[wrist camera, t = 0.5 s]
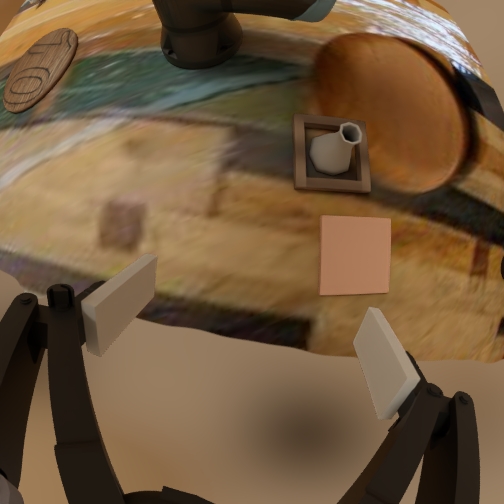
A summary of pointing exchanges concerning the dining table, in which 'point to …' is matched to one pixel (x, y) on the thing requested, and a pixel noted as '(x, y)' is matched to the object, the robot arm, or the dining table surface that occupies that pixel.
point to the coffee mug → (502, 268)
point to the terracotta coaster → (354, 255)
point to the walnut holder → (323, 183)
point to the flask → (335, 149)
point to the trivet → (39, 69)
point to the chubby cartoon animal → (34, 2)
